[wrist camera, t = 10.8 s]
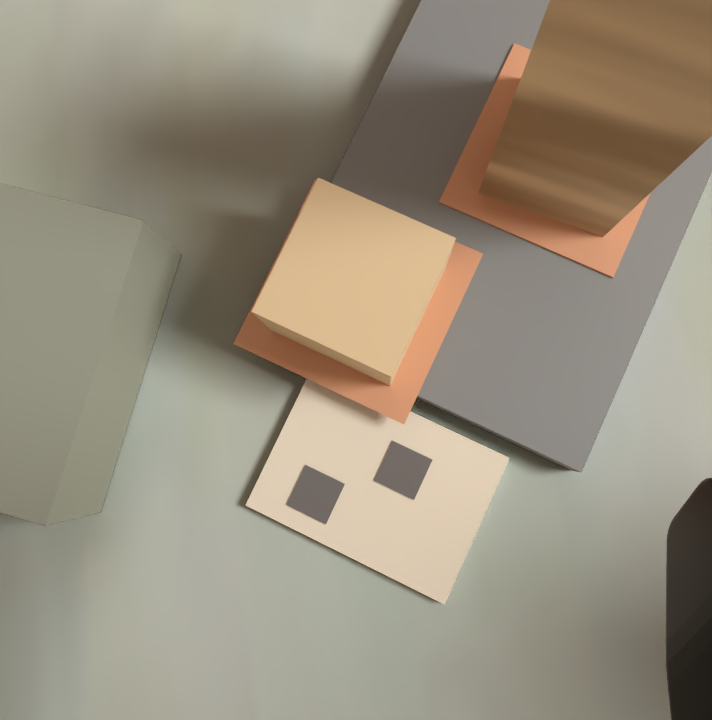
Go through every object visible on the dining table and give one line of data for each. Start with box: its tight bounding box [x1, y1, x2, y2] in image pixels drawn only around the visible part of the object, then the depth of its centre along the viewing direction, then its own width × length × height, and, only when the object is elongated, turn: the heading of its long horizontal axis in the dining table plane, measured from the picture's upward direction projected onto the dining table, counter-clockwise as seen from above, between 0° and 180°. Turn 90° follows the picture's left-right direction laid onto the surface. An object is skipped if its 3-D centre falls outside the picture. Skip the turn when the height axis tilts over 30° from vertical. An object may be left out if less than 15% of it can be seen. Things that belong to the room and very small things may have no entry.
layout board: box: [233, 0, 712, 472], centre depth 20 cm, size 15×12×4 cm
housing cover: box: [0, 183, 181, 526], centre depth 20 cm, size 9×7×4 cm
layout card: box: [246, 379, 510, 605], centre depth 21 cm, size 5×7×1 cm
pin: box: [478, 0, 712, 237], centre depth 14 cm, size 4×4×13 cm
